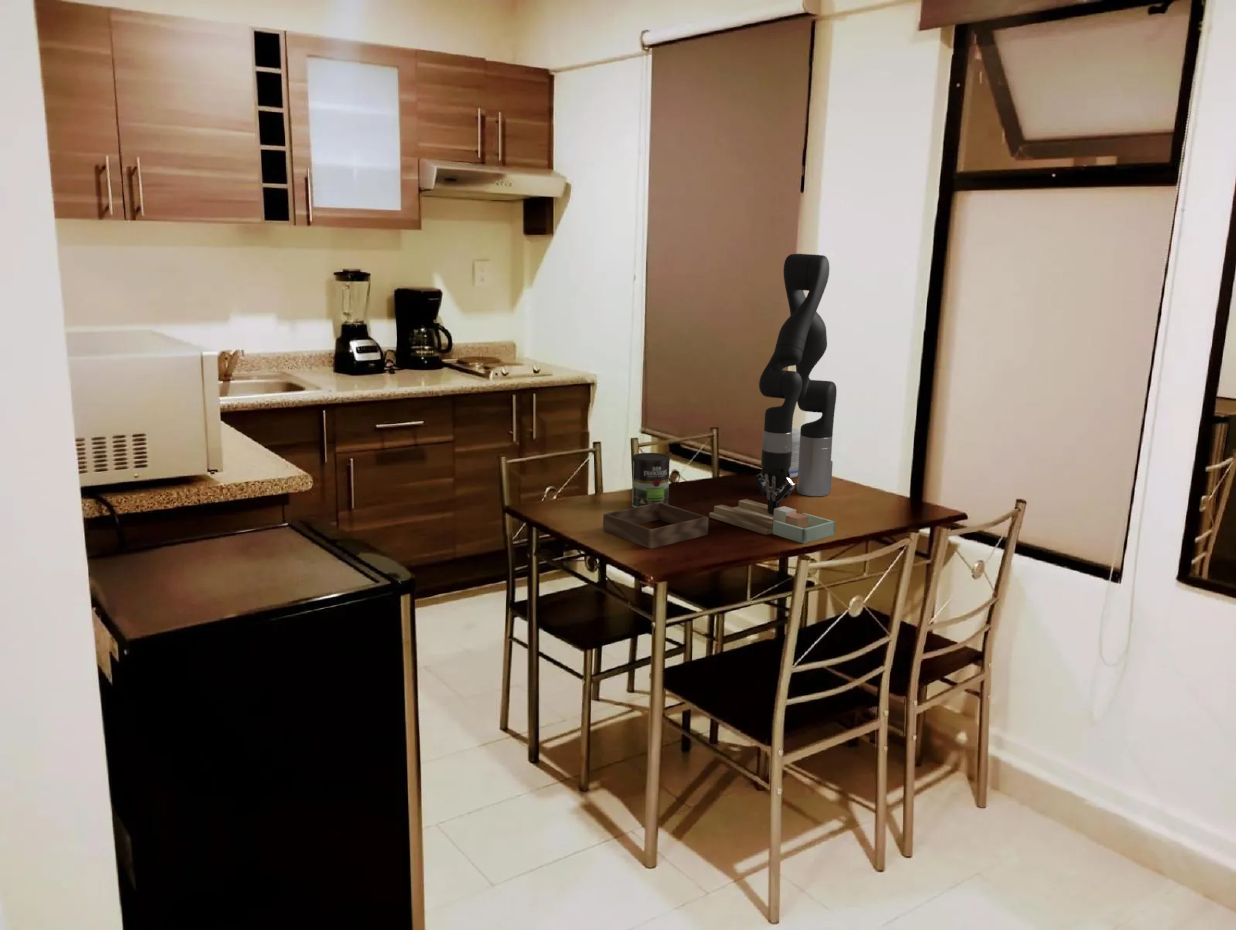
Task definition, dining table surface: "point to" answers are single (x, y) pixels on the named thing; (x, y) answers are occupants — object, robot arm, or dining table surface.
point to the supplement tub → (795, 453)
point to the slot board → (742, 523)
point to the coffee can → (650, 479)
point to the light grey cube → (782, 513)
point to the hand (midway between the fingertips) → (773, 514)
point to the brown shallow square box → (680, 530)
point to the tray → (806, 529)
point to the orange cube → (797, 520)
